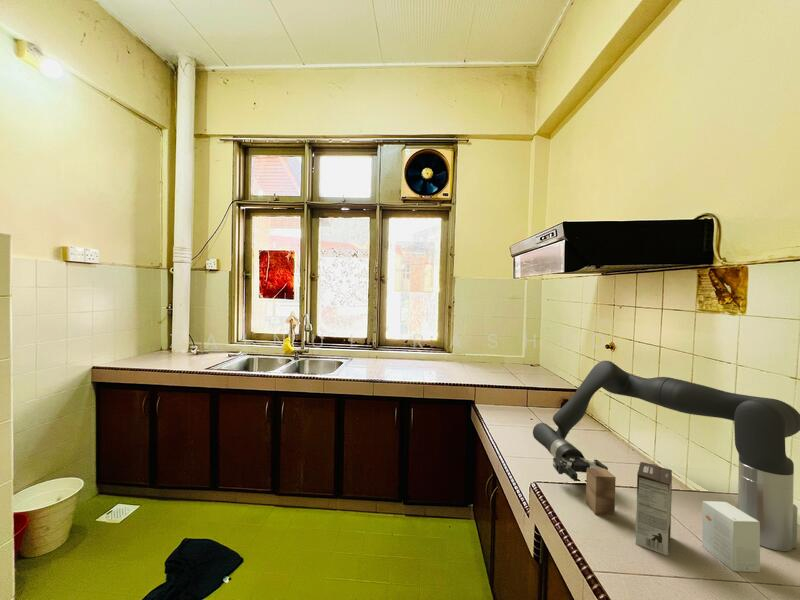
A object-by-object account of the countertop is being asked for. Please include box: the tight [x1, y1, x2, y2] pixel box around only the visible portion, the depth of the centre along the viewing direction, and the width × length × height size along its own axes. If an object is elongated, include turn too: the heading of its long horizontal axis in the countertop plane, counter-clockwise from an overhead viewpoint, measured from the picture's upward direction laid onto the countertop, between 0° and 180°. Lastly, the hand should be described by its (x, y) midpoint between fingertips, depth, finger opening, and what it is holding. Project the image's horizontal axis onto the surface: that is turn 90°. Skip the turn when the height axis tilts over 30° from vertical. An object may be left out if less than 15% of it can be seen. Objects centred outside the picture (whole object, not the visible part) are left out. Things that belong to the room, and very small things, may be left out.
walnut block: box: [585, 467, 617, 517], centre depth 95 cm, size 5×5×10 cm
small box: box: [701, 500, 761, 573], centre depth 78 cm, size 8×6×10 cm
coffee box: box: [635, 461, 673, 557], centre depth 83 cm, size 9×6×16 cm
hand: (591, 478), depth 100 cm, fingers open, 8 cm apart
